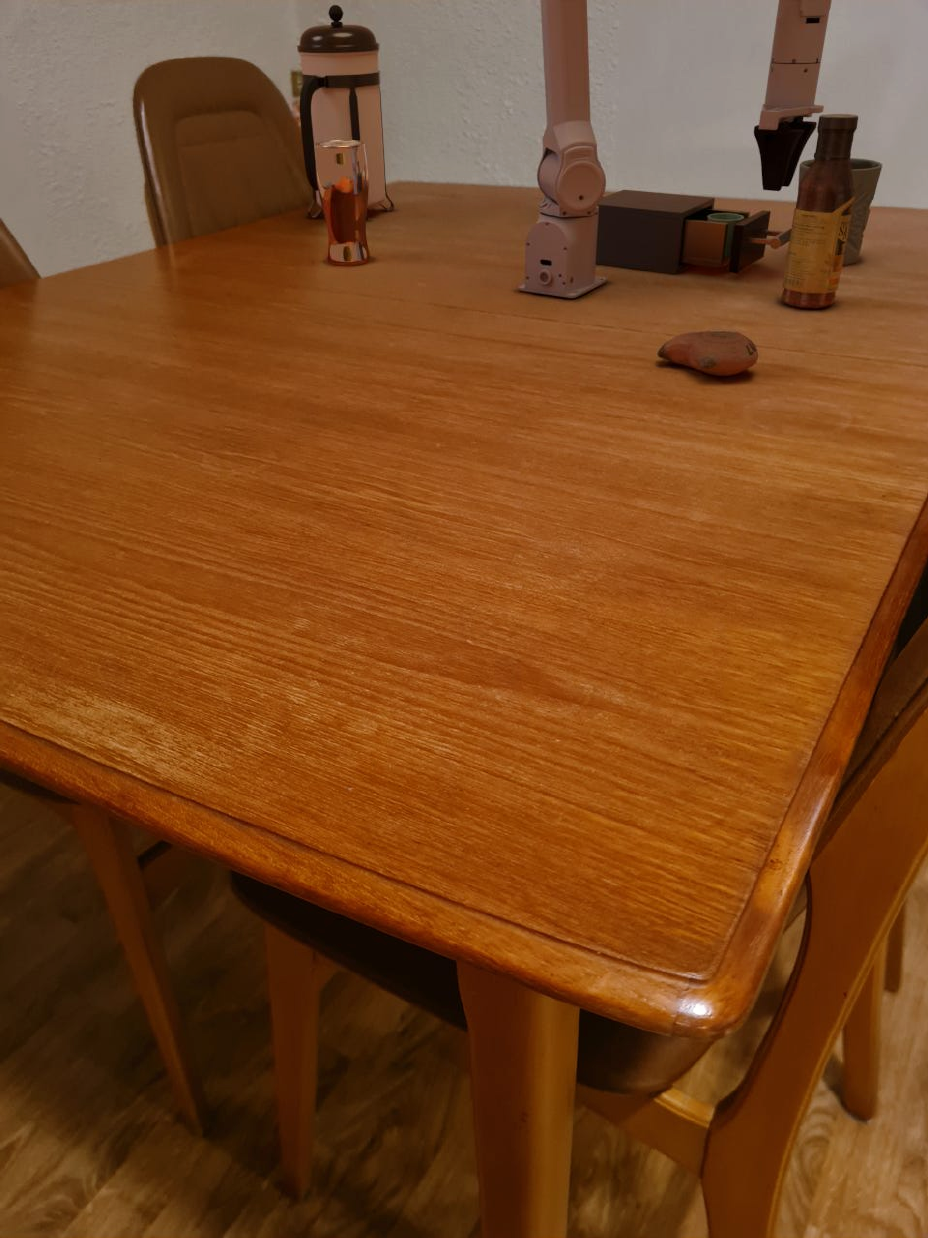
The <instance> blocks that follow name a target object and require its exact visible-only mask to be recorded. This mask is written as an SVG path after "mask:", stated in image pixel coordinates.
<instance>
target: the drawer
mask: <svg viewBox="0 0 928 1238" xmlns="http://www.w3.org/2000/svg"><path fill="white" fill-rule="evenodd" d="M771 212H772V211H771V210H765V209H763V210H760V211H758V212H755V214H752V215H751V212H750V211H746V210H745V211H744V210H735V209H725V208H724V209H723V208H715V207H714V208H704V209H702V210H700V211H698V212H696V213H694V214H691V215H689V216H687V217H685V218H683V229H682V238H681V248H680V257H679V263H687V264H693V265H696V266H704V267H710V268H720V269H721V268H722V267H724V266H726V265H728V272H727V273H729V274H739V273H740V272H742V271H743V270H745V269H747V268H748V267H750V266H752V265H753V264H755V263H757V262H759V261H760V260H761V259H763V258H764V257H765V252H766V245H767V246H770V248H771V249H773V250H778V249H780V248H781V247H782V246H785V245H786V244H787V243H789V241H790V234H791V228H788V229H785V230H784V231H783V230H772V229H769V226H770V218H771ZM716 213H731V214H738V215H742V216H743V217H744V220H743V221H741V222H739V223H737V224H735V226H734V233H733V241H732V248H731V256H730V257H724V253H725V245H726V237H727V229H728V223H721V222H711V221H707V216H708V215H710V214H716ZM768 237H772V238H768Z"/></svg>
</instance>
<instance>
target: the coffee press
mask: <svg viewBox="0 0 928 1238" xmlns="http://www.w3.org/2000/svg"><path fill="white" fill-rule="evenodd" d="M344 13H345V12H343V9H342V7H341V6H340V5H338V4H333V5H331V6H330V7H329V9H328V13H327V14H328V17H329V18H330V20H331V22H330V24H325V25H315V26H312V27H308V28H307V29H306V30H304V31H303V33H301V35H300V38H299V44H298V45H296V48H297V52H298V55H300V57H299V58H300V65H301V72H300V79H301V80H300V81H301V89H300V94H299V122H300V133H301V143H302V151H303V161H304V168H305V173H306V178H307V180H308V183H309V185H310V187H311V190H312V201H311V203H310V205H309V207H308V209H307V215H308V216H309V217H310V218H311V219H316V218H317V219H318V217H319V216H320V214H321V213H323V209H322V205H321V201H320V196H319V192H318V185H317V176H316V147H315V144H316V143H318V142H322V141H330V140H359V141H363V142H364V143H365V152H366V159H367V167H368V180H369V192H368V206H367V210H371V209H375V208H378V207H380V206H381V208H383V209H384V210H385V211H387V212H392V211H393V210H394V208H395V204H394V203H393V201H392V200H391V199H390V197H389V195H388V193H387V181H386V179H387V178H386V162H385V148H384V147H385V146H384V145H385V144H384V128H383V112H382V111H383V109H382V95H381V87H380V84H382V83H381V82H382V81H381V71H380V70H379V56H378V55H379V52H380V43H379V42H377V38H376V36H375V33H374V32H373V31H372V30H371V29H370V28H368V27H366V26H364V25H359V24H344V23H343V22H342V21H341V20H342V19H343V16H344ZM386 199H387V200H388V202H389V203H390V207H389V208H386V207H385V206H384V202H385V200H386ZM315 204H316V205H317V206H318V207H320V208H319V209H318V210H317V211H316V213H315V214H314V215H311V212H312V210H313V208H314V206H315ZM368 215H369V214H367V217H366V222H367V221H369V217H368Z"/></svg>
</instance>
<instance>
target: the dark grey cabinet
mask: <svg viewBox="0 0 928 1238" xmlns="http://www.w3.org/2000/svg"><path fill="white" fill-rule="evenodd" d="M715 199H716V198H715V197H712V196H710V197H709V196H699V195H690V194H689V195H688V194H677V193H667V192H654V191H646V190H645V191H643V190H635V189H634V190H632V189H622V190H619V191H616V192H614V193H611V194H608V195H606V196H603V197H602V199H601V201H600V202H599V203H598V206H599V211H598V212H599V214H598V231H597V249H596V265H603V266H610V267H618V268H624V269H625V268H626V269H632V270H639V271H640V270H641V271H648V272H654V273H661V274H671V275H676V274H679V273H680V272H682V271H684V270H686V269H688V268H689V267H691V266H693V265H694V264H687V263H679V257H680V248H681V238H682V229H683V218H685V217H687V216H689V215H691V214H694V213H696V212H698V211H700V210H702V209H704V208H714V209H715V202H716V200H715Z"/></svg>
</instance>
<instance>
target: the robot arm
mask: <svg viewBox="0 0 928 1238" xmlns="http://www.w3.org/2000/svg"><path fill="white" fill-rule="evenodd" d="M831 7H832V0H778V6H777V12H776V18H775V27H774V32H773V39H772V47H771V52H770V53H771V55H770V62H769V69H768V75H767V83H766V90H765V95H764V96H765V97H764V103H763V104H762V105H761V111H760V115H759V122H758V124H757V125H755V126H753V137H754V138H755V141H756V144H757V149H758V152H759V157H760V169H761V184H762V190H763V191H773V192H781V190H782V189H783V187H784V188H785V187H786V188H788V187H790V185H791V183H792V180H793V178H794V176H795V173H796V170H797V167H798V164H799V161H800V159H801V157H802V154H803V152H804V149H805V147H806V145H807V144H808V141H809V140H810V138H811V137H812V135H813V133H814V132H815V130H816V129H817V126H818V121H817V122H816V121H811V120H810V121H808V120H804V118H813V114H821V113H823V112H824V108H825V105H823V104H822V105H820V104H816V103H815V100H816V94H817V88H818V83H819V77H820V70H821V65H822V57H823V51H824V46H825V40H826V34H827V29H828V22H829V16H830V10H831ZM540 16H541V17H540V19H541V34H542V35H541V37H542V54H543V55H542V57H543V73H544V74H543V75H544V89H545V90H544V92H545V110H546V111H545V113H546V127H545V130H544V133H543V136H542V154H541V158H540V161H539V163H538V167H537V169H536V170H537V171H536V181H537V185H538V188H539V190H540V191H541V193H542V194H543V196H544V197H543V199H542V200H541V202H540V204H539V214H538V219H537V221H536V222H535V223H534V225H532V226H531V227H530V228H529V231H528V232H527V234H526V238H525V251H524V255H525V256H524V257H525V258H524V262H525V263H524V283H523V284H521V285H519V286H518V291H520V292H527V293H532V294H540V295H547V296H553V297H560V298H566V299H576V298H578V297H580V296H583V295H584V294H585V293H588V292H590V291H592V290H594V289H596V288H598V287H600V286H602V285H604V284H606V283H607V282H608V278H607V277H604V276H596V265H597V264H596V249H597V231H598V214H599V212H598V211H599V206H598V203H599V202H600V201H601V199H602V197H604V195H605V192H606V187H607V178H606V177H607V176H606V173H605V170H604V168H603V167H602V164H601V165H600V163H601V162H600V160H599V156H598V143H597V140H596V136H595V133H594V129H593V126H592V121H591V93H590V91H591V90H590V89H591V88H590V61H589V60H590V59H589V57H590V56H589V29H588V28H589V27H588V24H589V23H588V0H540ZM599 162H600V163H599Z"/></svg>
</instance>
